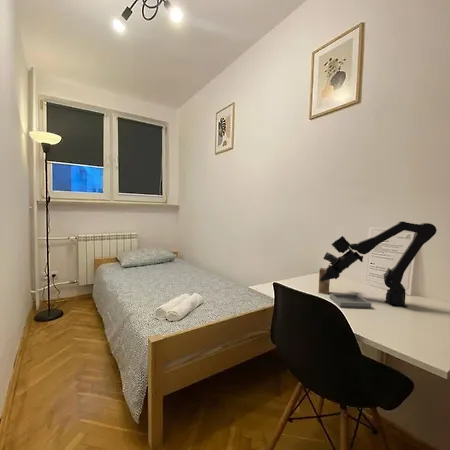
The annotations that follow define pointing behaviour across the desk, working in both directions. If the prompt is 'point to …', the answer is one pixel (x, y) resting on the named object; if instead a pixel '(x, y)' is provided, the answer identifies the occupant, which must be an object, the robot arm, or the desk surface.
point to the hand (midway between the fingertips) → (321, 279)
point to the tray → (350, 301)
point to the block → (323, 282)
